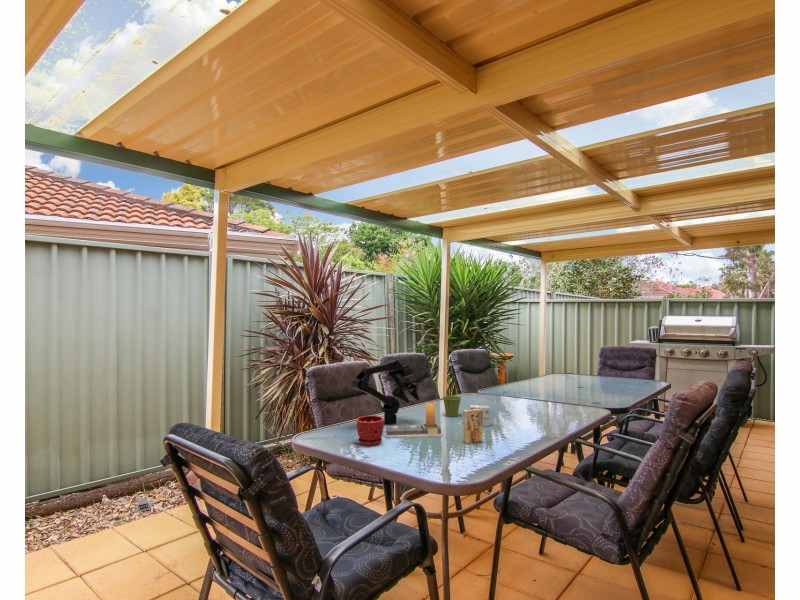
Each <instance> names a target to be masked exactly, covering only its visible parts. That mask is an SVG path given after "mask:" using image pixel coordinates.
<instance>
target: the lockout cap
mask: <svg viewBox="0 0 800 600" xmlns="http://www.w3.org/2000/svg"><path fill="white" fill-rule="evenodd" d="M425 424H426V428H428V427H436V424H437V423H436V402H435V401H426V402H425Z"/></svg>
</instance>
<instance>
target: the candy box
mask: <svg viewBox="0 0 800 600" xmlns="http://www.w3.org/2000/svg"><path fill="white" fill-rule="evenodd" d="M462 413H463V414H462V415H463V418H462V422H463V423H462V425H463V426H462V427H463V428H462V432H463V433H462V434H463V439H462V441H463V442H464V443H466V444H472V442H474V443H480V442H479V441H481V442H483V426H482V410H480V409H471V410H470V409H465V410H463V411H462Z"/></svg>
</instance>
